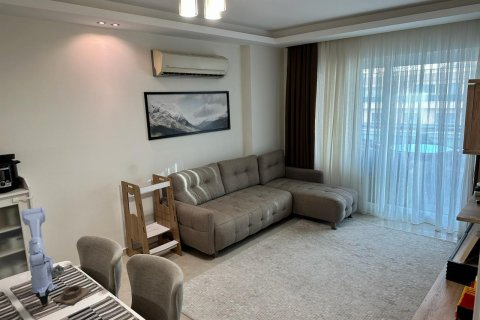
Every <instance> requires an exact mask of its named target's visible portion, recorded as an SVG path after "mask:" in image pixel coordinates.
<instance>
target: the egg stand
mask: <svg viewBox="0 0 480 320" xmlns="http://www.w3.org/2000/svg"><path fill="white" fill-rule="evenodd" d="M91 292H92V289H91V288H85V287H82V286H81V285H77V284H75V285H71V286H68V287H66V288H65V289H63V290H62V293H61V294H59V295H58V296H57V297H55V298H54V299H53V302H54V303H58V304H59V303H60V304H64V305H69V306H75V305H76V304H77V303H78V302H80V301H81V300H82V299H84V298H85V297H87V295H88V294H90V293H91Z"/></svg>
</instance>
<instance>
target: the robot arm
mask: <svg viewBox="0 0 480 320" xmlns="http://www.w3.org/2000/svg"><path fill="white" fill-rule="evenodd" d="M20 212H21V221H22V222H23V224H24V226H28V229H29V232H30V233H29V234H30V236H31V239H30V240H29V241H28V247H29V256H28V260H29V269H30V270H29V272H30V275H31V277H30V285H31V291H30V292H31V293H34V294H35V297H36V298H37V299H38V300H40V302H41V304H42V305H43V306H44V305H45V306H48V305H49V304H48V296H49V294H50V292H51V291H52V290H54V289H55V288H57V287H58V285H57V284H53V278H52V276H51V274H52V273H51V272H52V271H53V267H54V265H53V264H54V263H53V260H52V257H51V256H50V255H47V253H46V252H45V247H44V246H45V245H44V239H43V238H44V237H43V232H42V225H43V223H45V222H46V212H45V207H44V206H39V207H35V208H27V209H22V210H21V211H20ZM42 305H41V306H42ZM43 306H42V307H43Z"/></svg>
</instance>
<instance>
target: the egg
mask: <svg viewBox="0 0 480 320" xmlns="http://www.w3.org/2000/svg"><path fill="white" fill-rule="evenodd" d="M38 300H39V299H38ZM50 302H51V297H50V296H49V295H48V304H47V305H49V304H50ZM38 303H39V305H40V306H42V307H43V305H42V304H41V302H40V300H39V301H38ZM44 306H45V307H46V305H44Z"/></svg>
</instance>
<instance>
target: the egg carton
mask: <svg viewBox="0 0 480 320" xmlns="http://www.w3.org/2000/svg"><path fill="white" fill-rule="evenodd" d="M65 270H66V268H64V267H63V266H61V265H60V264H57V265H56V266H53V271H52V272H51V276H52V279H53V278H57V277H58V276H60V275H64V273H65Z"/></svg>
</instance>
